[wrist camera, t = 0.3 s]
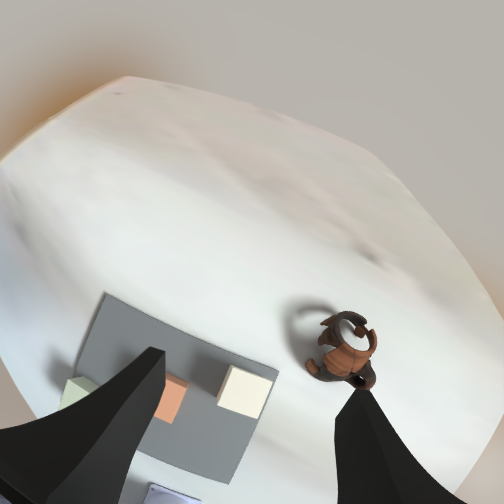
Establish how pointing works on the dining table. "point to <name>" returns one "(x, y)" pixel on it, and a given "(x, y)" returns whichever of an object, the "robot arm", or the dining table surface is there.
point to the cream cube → (243, 392)
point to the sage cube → (76, 390)
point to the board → (195, 399)
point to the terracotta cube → (171, 398)
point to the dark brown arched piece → (345, 354)
